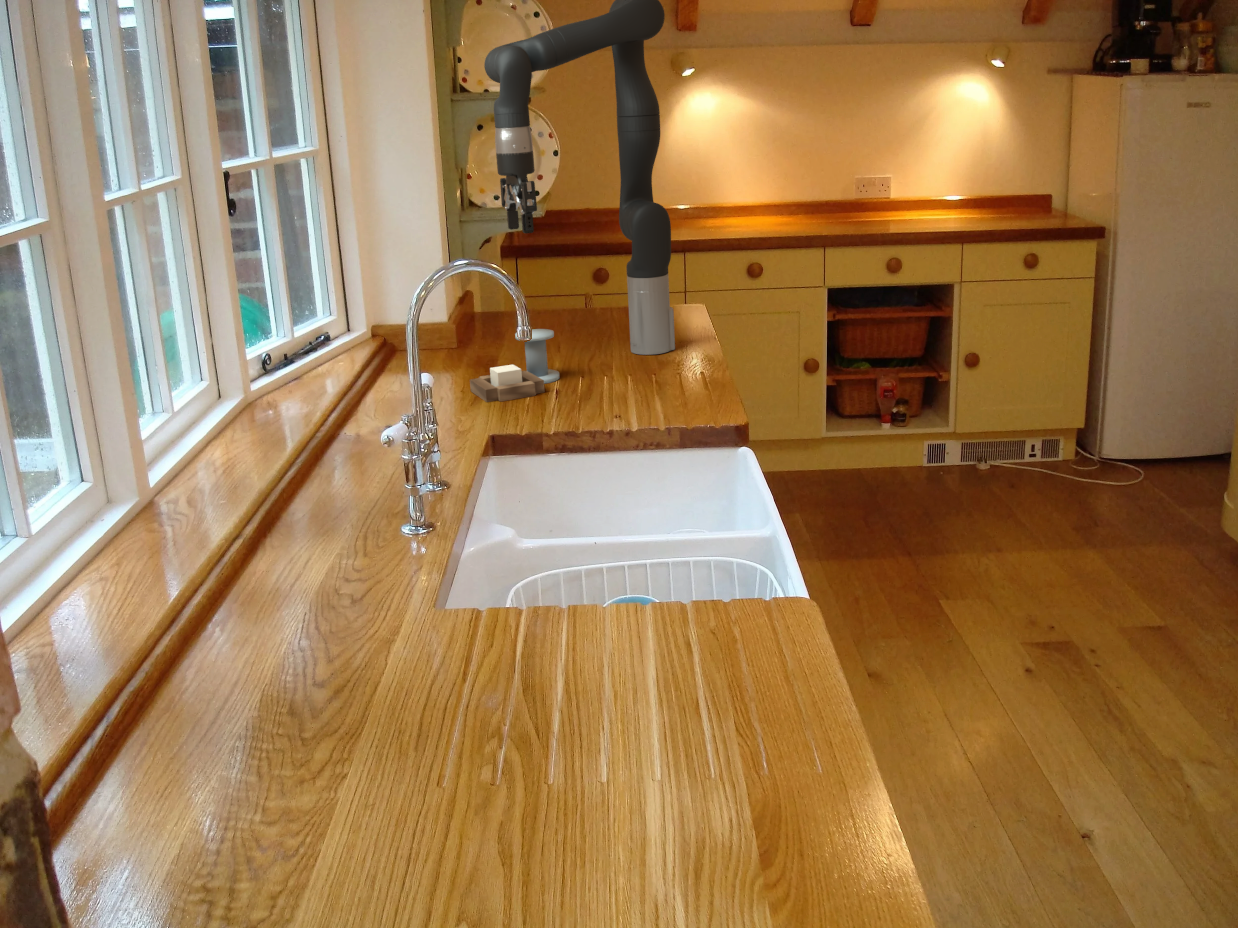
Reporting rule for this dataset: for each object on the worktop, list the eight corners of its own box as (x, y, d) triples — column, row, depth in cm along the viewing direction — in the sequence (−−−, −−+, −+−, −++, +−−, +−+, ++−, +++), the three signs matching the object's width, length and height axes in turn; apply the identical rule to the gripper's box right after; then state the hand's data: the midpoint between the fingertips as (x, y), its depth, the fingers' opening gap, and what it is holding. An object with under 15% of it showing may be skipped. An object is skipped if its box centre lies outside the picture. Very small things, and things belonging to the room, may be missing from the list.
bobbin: (549, 371, 261) (546, 326, 257) (566, 380, 253) (562, 333, 250) (510, 378, 257) (506, 332, 254) (525, 386, 249) (521, 340, 246)
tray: (525, 381, 254) (524, 369, 253) (546, 393, 243) (545, 381, 242) (468, 390, 249) (467, 378, 248) (488, 403, 239) (487, 391, 238)
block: (514, 388, 249) (513, 364, 248) (523, 393, 245) (521, 369, 243) (491, 391, 247) (489, 368, 246) (499, 397, 243) (497, 373, 241)
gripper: (544, 150, 241) (550, 232, 246) (519, 147, 254) (525, 226, 259) (509, 153, 238) (515, 236, 243) (485, 150, 251) (492, 229, 256)
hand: (520, 231), depth 251 cm, fingers open, 8 cm apart
